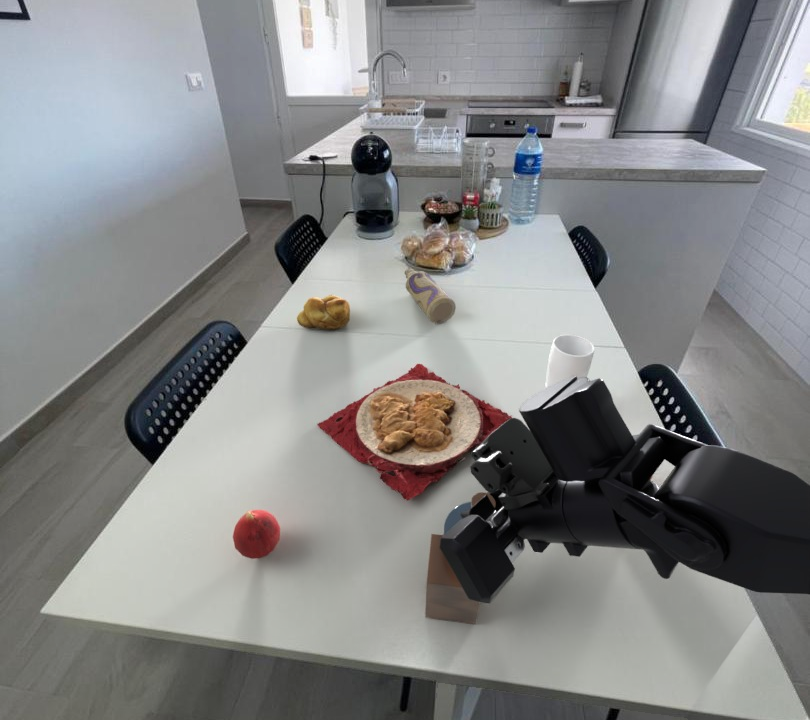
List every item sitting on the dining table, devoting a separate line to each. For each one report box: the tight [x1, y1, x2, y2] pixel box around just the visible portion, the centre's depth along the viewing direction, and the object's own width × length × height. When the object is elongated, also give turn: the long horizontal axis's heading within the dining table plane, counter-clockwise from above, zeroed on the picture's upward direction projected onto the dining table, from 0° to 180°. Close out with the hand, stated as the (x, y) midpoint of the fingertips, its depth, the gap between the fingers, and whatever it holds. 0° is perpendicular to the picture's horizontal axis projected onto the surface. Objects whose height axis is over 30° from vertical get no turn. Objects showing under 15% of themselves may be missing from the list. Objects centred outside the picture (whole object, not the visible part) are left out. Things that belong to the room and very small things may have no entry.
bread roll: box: [296, 294, 351, 331], centre depth 106 cm, size 13×10×8 cm
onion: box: [232, 509, 281, 560], centre depth 58 cm, size 6×6×8 cm
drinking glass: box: [544, 334, 596, 389], centre depth 78 cm, size 7×7×15 cm
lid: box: [443, 491, 496, 535], centre depth 49 cm, size 8×8×6 cm
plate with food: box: [316, 363, 513, 501], centre depth 79 cm, size 24×26×4 cm
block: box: [424, 533, 481, 625], centre depth 53 cm, size 6×6×8 cm
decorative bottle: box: [404, 267, 457, 324], centre depth 116 cm, size 26×8×7 cm, turn 18°
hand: (471, 509), depth 50 cm, fingers closed on lid, 2 cm apart
